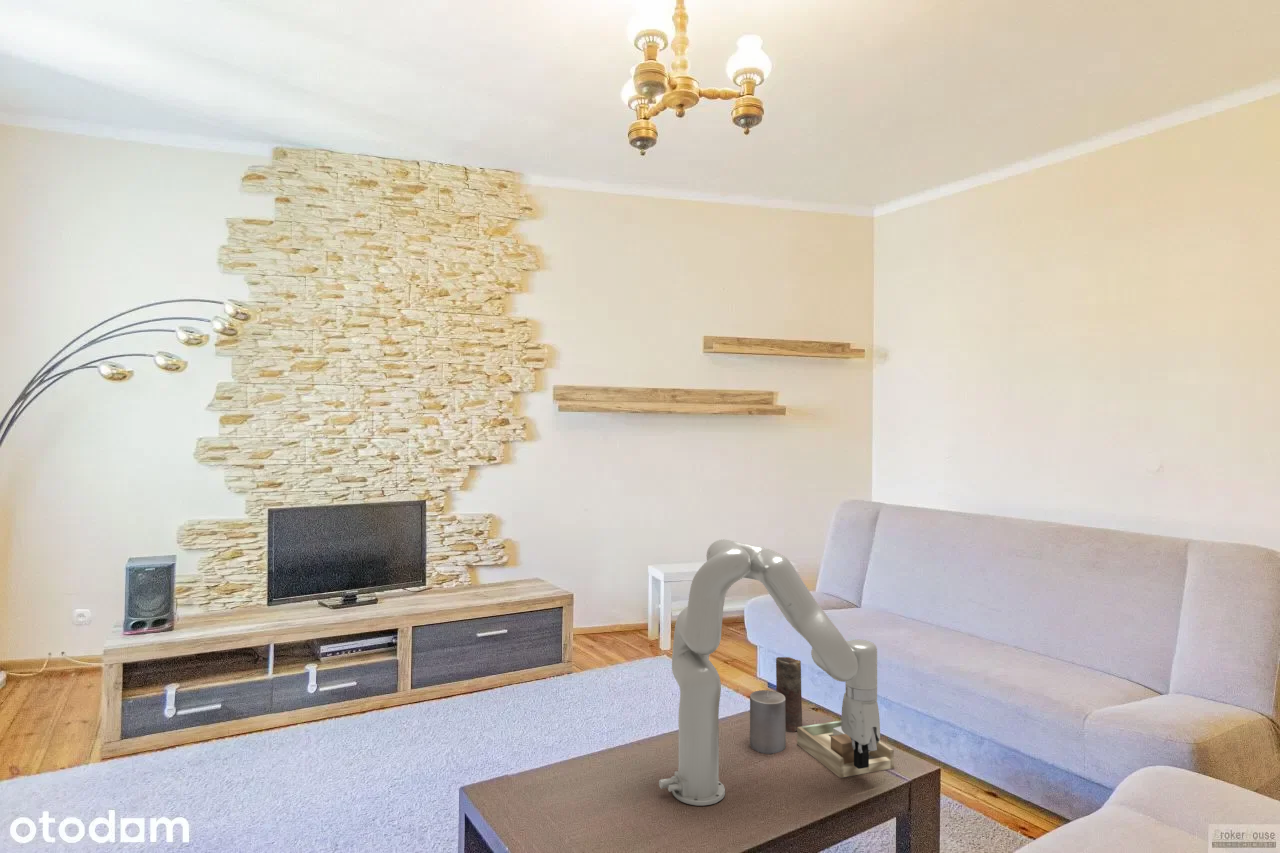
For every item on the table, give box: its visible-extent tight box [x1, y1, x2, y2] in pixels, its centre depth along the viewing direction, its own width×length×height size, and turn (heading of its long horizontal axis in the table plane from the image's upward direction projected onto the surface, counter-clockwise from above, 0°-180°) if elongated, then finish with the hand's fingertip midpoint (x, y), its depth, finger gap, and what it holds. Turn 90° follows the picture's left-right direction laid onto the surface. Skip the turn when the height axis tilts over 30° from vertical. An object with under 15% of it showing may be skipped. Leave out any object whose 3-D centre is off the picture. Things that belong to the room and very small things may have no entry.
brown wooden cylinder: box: [775, 656, 803, 733], centre depth 207 cm, size 8×7×20 cm
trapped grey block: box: [833, 726, 845, 736], centre depth 194 cm, size 4×4×4 cm
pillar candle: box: [749, 689, 787, 755], centre depth 194 cm, size 10×10×15 cm
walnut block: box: [831, 734, 855, 764], centre depth 182 cm, size 5×5×5 cm
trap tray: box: [796, 720, 895, 779], centre depth 188 cm, size 16×20×5 cm
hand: (861, 766), depth 175 cm, fingers closed
